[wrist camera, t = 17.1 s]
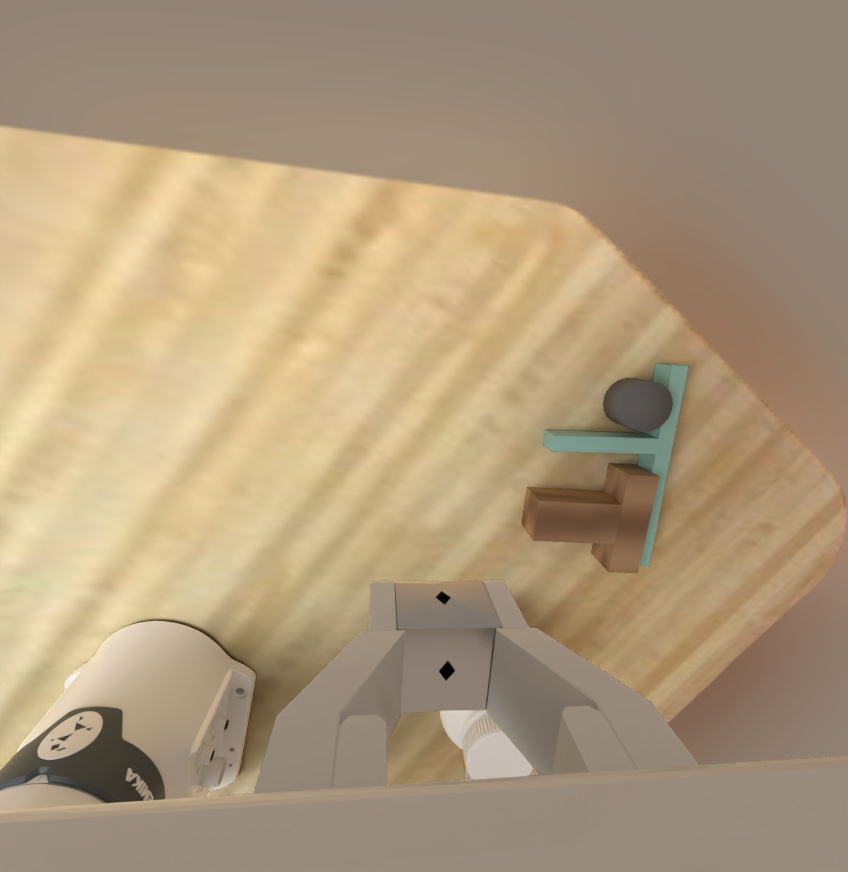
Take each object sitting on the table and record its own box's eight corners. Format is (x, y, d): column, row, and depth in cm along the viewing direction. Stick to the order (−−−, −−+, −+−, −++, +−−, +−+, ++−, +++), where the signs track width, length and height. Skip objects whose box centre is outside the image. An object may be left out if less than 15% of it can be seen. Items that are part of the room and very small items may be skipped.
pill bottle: (511, 594, 42) (571, 727, 27) (489, 655, 44) (534, 811, 29) (441, 579, 41) (464, 709, 27) (421, 642, 43) (432, 797, 28)
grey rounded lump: (645, 423, 39) (669, 431, 35) (601, 424, 38) (620, 432, 35) (650, 377, 37) (675, 381, 34) (605, 378, 37) (626, 382, 34)
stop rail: (635, 553, 42) (648, 566, 39) (530, 552, 41) (537, 565, 39) (670, 364, 37) (688, 365, 35) (553, 359, 36) (563, 360, 34)
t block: (617, 553, 42) (637, 572, 38) (517, 549, 41) (528, 569, 37) (636, 464, 39) (659, 476, 36) (530, 458, 39) (544, 470, 35)
